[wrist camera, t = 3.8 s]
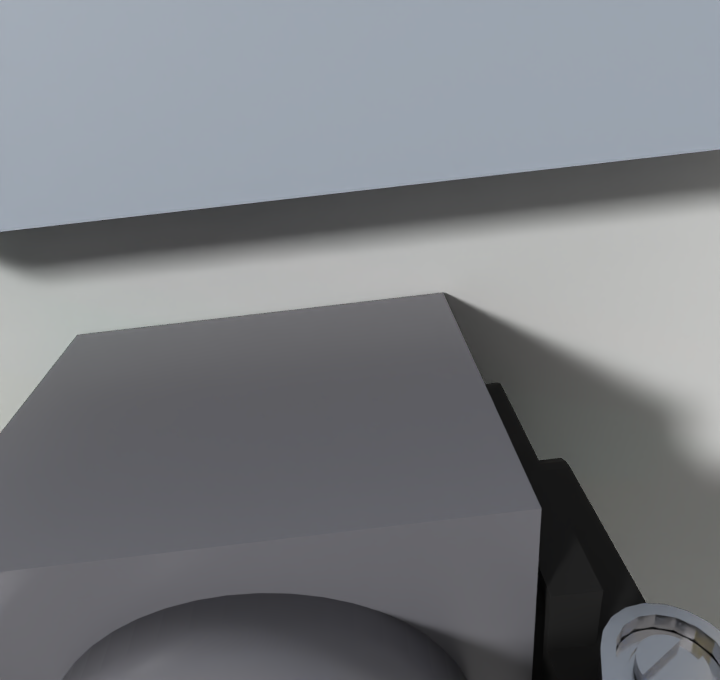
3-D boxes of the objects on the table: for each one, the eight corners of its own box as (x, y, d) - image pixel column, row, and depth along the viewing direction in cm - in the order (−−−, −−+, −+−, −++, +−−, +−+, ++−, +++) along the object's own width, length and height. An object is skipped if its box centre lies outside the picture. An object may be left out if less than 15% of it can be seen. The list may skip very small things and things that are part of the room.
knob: (443, 292, 9) (619, 679, 4) (452, 553, 12) (563, 1001, 6) (77, 334, 9) (-276, 787, 4) (168, 587, 12) (39, 1065, 6)
